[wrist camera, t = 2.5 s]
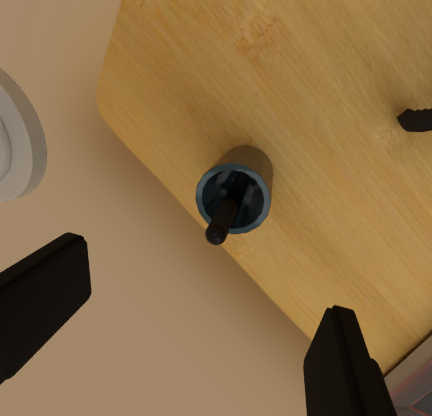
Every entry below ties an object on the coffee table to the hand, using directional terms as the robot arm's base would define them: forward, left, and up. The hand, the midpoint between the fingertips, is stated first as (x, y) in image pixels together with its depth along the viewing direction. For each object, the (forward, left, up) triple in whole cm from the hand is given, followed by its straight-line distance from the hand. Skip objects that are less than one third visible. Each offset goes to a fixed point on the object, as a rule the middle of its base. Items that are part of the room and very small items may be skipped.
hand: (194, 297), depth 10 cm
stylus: (0, 0, -18) cm, 18 cm away
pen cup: (0, 0, -18) cm, 18 cm away
